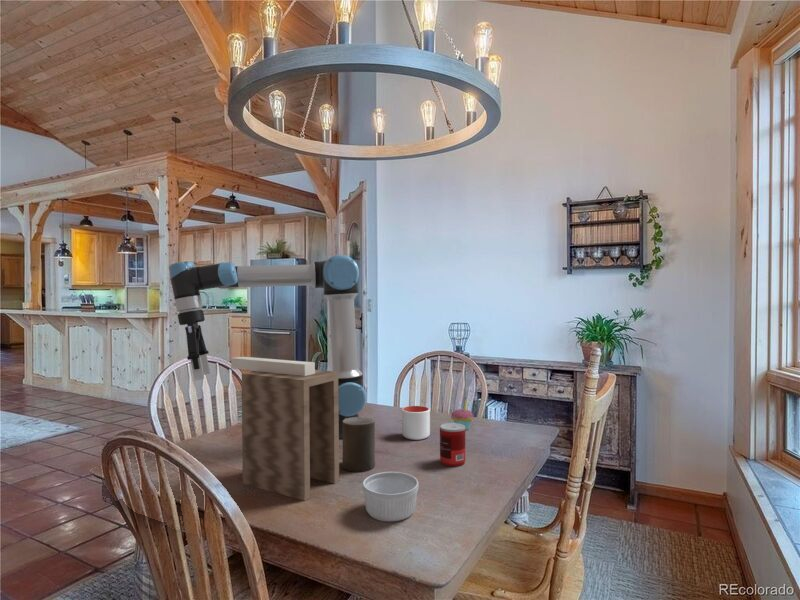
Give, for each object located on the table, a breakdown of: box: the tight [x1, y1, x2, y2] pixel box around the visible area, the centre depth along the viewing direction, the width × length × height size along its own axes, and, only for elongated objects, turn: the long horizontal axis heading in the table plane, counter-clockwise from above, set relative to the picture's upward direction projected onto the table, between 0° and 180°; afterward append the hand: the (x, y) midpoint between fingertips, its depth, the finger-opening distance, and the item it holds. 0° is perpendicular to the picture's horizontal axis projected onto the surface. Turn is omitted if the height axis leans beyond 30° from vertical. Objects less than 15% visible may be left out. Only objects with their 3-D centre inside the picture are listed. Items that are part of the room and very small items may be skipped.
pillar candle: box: [342, 415, 376, 473], centre depth 139 cm, size 10×10×15 cm
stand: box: [241, 369, 340, 501], centre depth 127 cm, size 22×14×30 cm, turn 60°
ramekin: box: [362, 471, 419, 523], centre depth 110 cm, size 13×13×7 cm
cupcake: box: [450, 397, 475, 431], centre depth 178 cm, size 9×8×12 cm
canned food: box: [439, 422, 466, 467], centre depth 142 cm, size 8×8×11 cm
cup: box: [401, 405, 431, 441], centre depth 168 cm, size 10×10×10 cm
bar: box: [230, 356, 316, 376], centre depth 130 cm, size 28×4×3 cm, turn 60°
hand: (202, 377), depth 147 cm, fingers open, 13 cm apart
